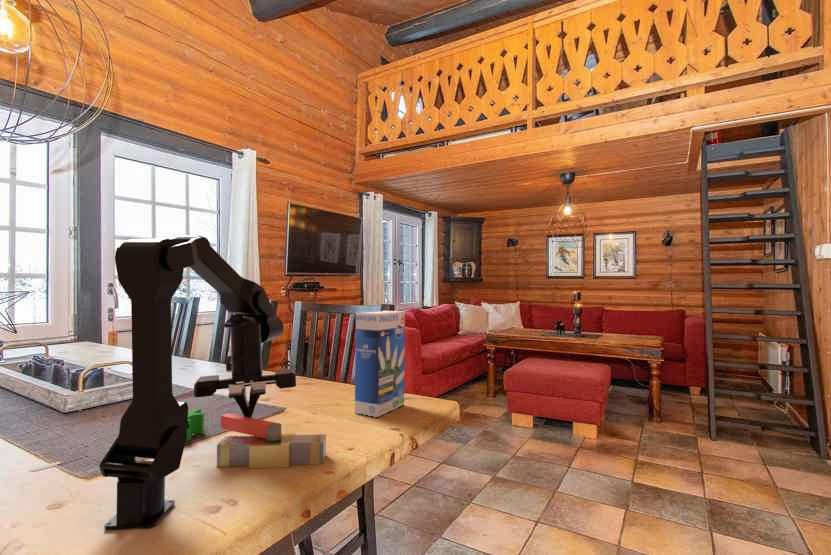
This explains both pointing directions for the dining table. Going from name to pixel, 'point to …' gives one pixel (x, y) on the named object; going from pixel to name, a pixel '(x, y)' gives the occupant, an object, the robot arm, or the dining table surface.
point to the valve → (271, 451)
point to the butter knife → (44, 467)
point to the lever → (251, 426)
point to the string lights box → (379, 362)
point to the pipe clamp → (195, 423)
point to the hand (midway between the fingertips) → (248, 424)
